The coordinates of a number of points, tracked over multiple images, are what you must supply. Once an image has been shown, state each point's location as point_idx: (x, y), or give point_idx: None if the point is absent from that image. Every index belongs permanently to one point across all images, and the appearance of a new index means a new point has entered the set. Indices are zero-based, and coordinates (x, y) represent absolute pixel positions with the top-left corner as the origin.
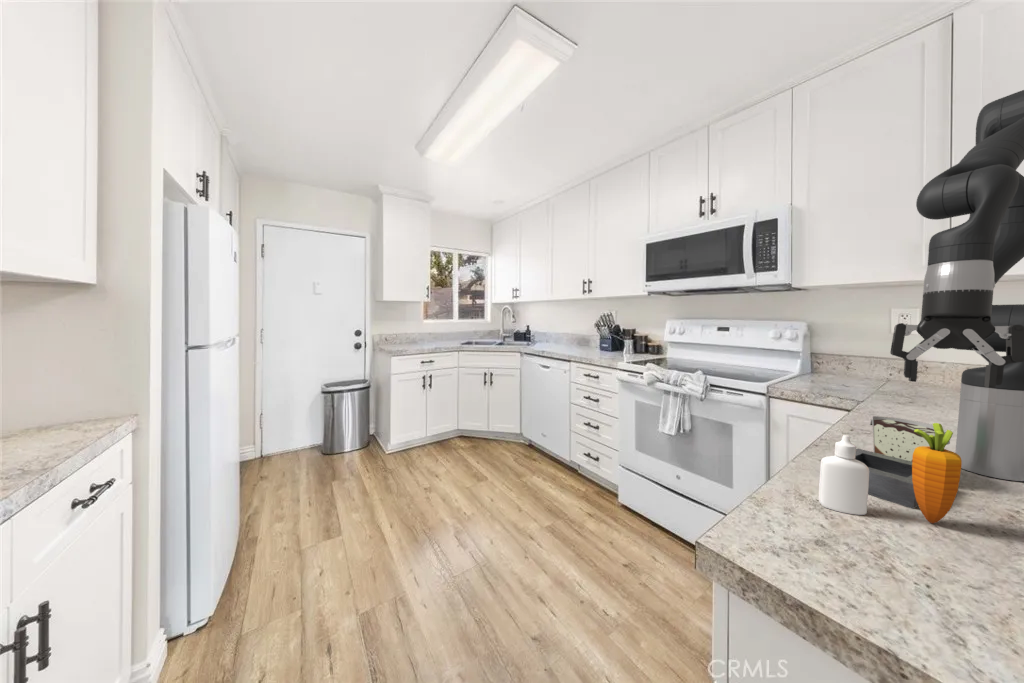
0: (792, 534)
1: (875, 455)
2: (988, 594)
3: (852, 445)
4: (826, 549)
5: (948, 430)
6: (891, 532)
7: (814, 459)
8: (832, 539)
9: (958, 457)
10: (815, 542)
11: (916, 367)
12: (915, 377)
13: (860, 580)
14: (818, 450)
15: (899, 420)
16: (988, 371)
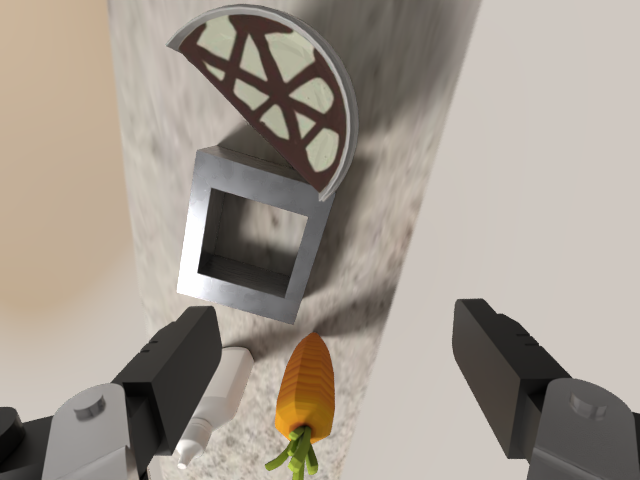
0: (208, 442)
1: (232, 187)
2: (337, 440)
3: (199, 455)
4: (236, 448)
5: (310, 474)
6: (278, 384)
7: (144, 152)
8: (237, 430)
9: (327, 433)
10: (227, 443)
11: (187, 414)
12: (211, 372)
13: (263, 472)
14: (126, 56)
15: (241, 12)
16: (489, 398)
